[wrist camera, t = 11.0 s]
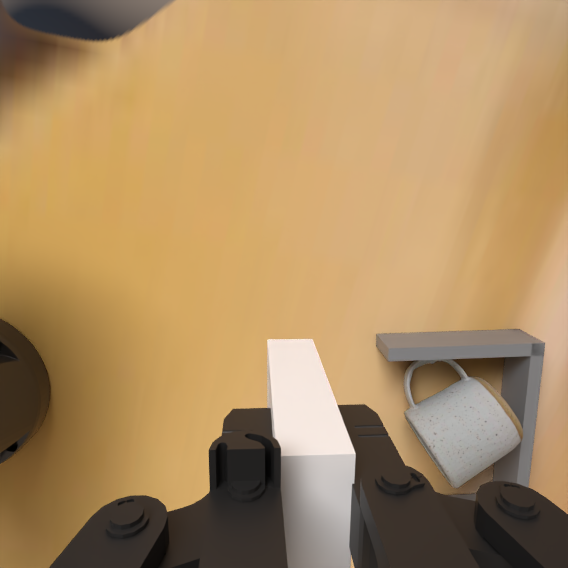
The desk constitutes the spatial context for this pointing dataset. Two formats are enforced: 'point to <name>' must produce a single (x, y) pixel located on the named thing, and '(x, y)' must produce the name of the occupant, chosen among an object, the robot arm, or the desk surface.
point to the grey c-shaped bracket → (515, 385)
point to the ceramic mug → (463, 425)
